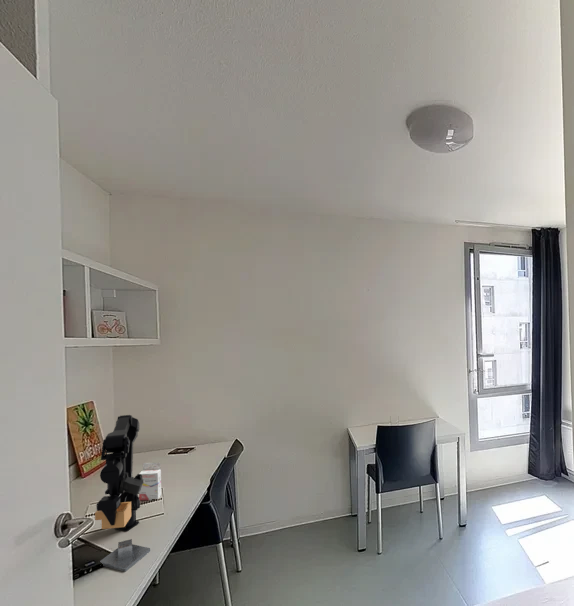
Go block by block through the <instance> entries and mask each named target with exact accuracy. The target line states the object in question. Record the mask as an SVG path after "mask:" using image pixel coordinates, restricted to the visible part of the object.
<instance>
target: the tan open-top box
mask: <svg viewBox="0 0 574 606" xmlns="http://www.w3.org/2000/svg"><path fill="white" fill-rule="evenodd" d="M130 518H131V502H121V505H120V506H119V507H118V509H117V512H116V520H115V525H112V526H111V525H110V523H109V521H108V519H107V518H106V516H105V515H104V513H103V512H102V511H97V510H96V511H95V512H94V521H101V530H107V529H114V528H120V527H125V525H126V524H127V522H128V521H129V519H130Z"/></svg>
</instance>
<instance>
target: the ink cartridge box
mask: <svg viewBox="0 0 574 606" xmlns="http://www.w3.org/2000/svg"><path fill="white" fill-rule="evenodd" d="M138 474H141V475H142V479H143V482H144V483H143V485H142V488H141V491H140V492H139V493H138V497H139V500H140V501H153V500H152V499H158V500H159V499H160V498H161V496H162V470H161V462H143V463H142V470H141V471H140V472H139V473H138Z"/></svg>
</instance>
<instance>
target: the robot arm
mask: <svg viewBox="0 0 574 606" xmlns="http://www.w3.org/2000/svg"><path fill="white" fill-rule="evenodd" d="M139 432H140V422H139V419H138V418H135V417H133V415H131V414H124V415H119V416H117V419H116V422H115V427H114V429H113V431H111V432H109V433H108V434H106V436H105V439H103V441H102V446H101V447H102V448H101V454H100V461H105V465H104V466H103V467H102V468H101V469H102V470H101V471H100V474H99V477H100V481H102V482H103V483H104V484H107V485H106V487H107V489H106V490H105V491H104V494H105V496H102V498H101V499H100V500H99V501H98V502H97V503H96V511H102V512H103V513H104V515H105V516H106V518H107V519H108V521H109V523H110V525H111V526H112V525H115V520H116V512H117V509H118V507H119V506H120V505H121V502H131V518H130V519H129V521H128V522H127V524H126V525H125V527H120V528H113V529H115V530H117V531H118V530H119V531H124V532H128V531H129V530H131V529H133V527H136V526H137V525H138V524H140V521H139V520H137V514H136V513H137V512H136V511H138V509H140V508H141V500H139V492H140V491H141V488H142V485H143V483H144V482H143V479H142V475H141V474H139V473H137V474H136V475H135V476H133V465H134V464H133V463H134V461H133V460H134V443H135V441H136V440H137V438H138V436H139V435H138V434H139Z"/></svg>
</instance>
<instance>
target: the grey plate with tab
mask: <svg viewBox="0 0 574 606" xmlns="http://www.w3.org/2000/svg"><path fill="white" fill-rule="evenodd" d="M117 544H118V545H117V548H116V549H115V550H113V551H112V552H110V553H109V554H107V555H106V556H105V557H104V558H102V559H101V560H99V561H100V562H101V563H102V564H103V567H107V568H110V569H113V570H114V569H115V570H118V571H122V572H125V573H126V572H127V571H128V570H129V569H130V568H132V567H133V566H134V565H136V564H137V563H138V562H139V561H141V559H143V558H144V557H145V556H146V555H148V554H149V553H150V552H151V548H150V547H146V546H142V545H137V544H133V539H132V538H131V539H127V540H123V541H119V542H118V543H117ZM147 553H148V554H147Z"/></svg>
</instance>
